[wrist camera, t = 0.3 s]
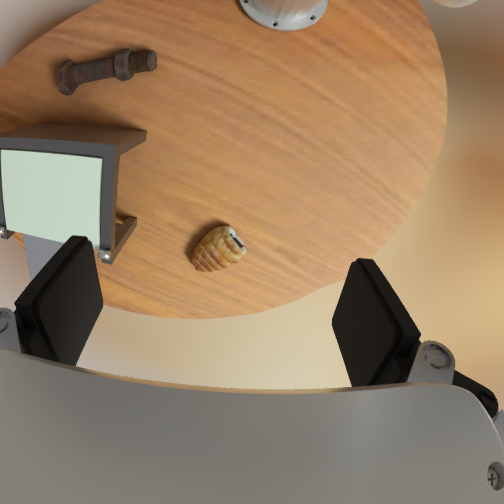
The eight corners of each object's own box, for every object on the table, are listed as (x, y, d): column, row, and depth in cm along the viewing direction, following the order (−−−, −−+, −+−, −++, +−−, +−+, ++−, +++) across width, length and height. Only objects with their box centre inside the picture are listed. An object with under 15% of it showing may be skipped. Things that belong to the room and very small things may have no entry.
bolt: (161, 67, 36) (74, 83, 35) (157, 38, 32) (67, 57, 31) (153, 83, 34) (60, 101, 32) (148, 51, 29) (51, 74, 28)
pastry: (207, 274, 53) (205, 287, 50) (182, 248, 50) (178, 259, 47) (250, 247, 51) (250, 259, 47) (225, 217, 48) (224, 227, 44)
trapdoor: (24, 140, 32) (0, 149, 27) (119, 148, 35) (101, 158, 30) (32, 258, 43) (16, 277, 37) (114, 278, 45) (102, 301, 40)
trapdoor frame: (38, 122, 36) (-12, 139, 25) (146, 131, 40) (112, 147, 28) (38, 207, 44) (-3, 241, 33) (136, 225, 47) (108, 269, 36)
